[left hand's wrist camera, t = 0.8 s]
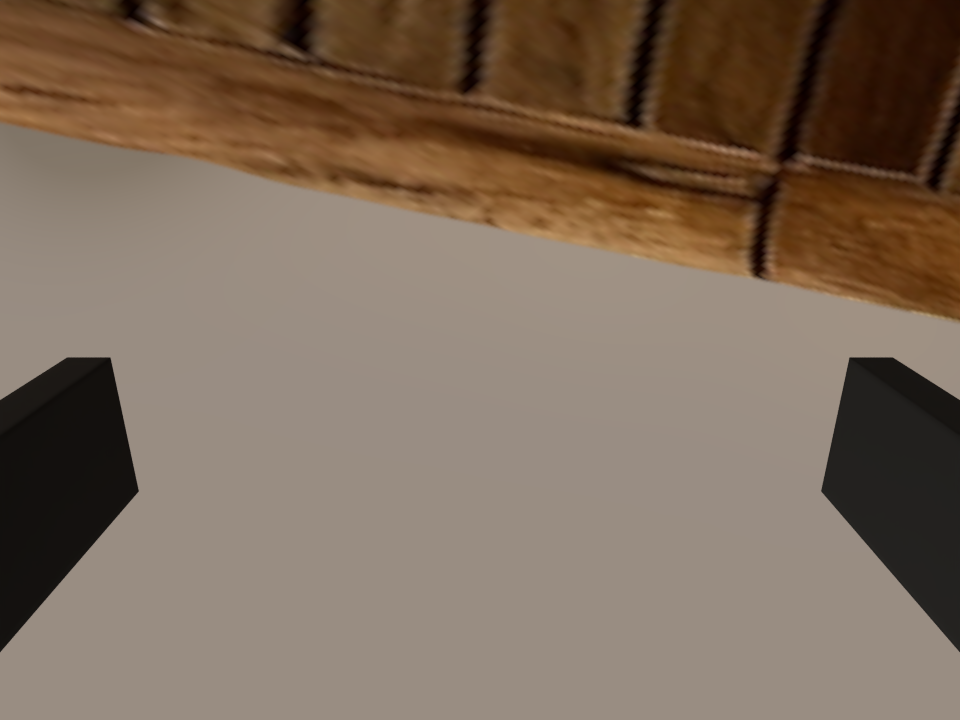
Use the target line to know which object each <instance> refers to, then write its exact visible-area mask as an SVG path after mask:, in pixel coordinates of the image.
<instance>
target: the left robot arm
mask: <svg viewBox="0 0 960 720" xmlns="http://www.w3.org/2000/svg"><path fill="white" fill-rule="evenodd" d="M821 491H822V493H823V494H824V495H825V496H826V497H827V498H828V500H829V501H830V502H831V503H832V504H833V505H834V507H835V508H836V509H837V510H838V511H839V512H840V514H841V515H842V516H843V517H844V518H845V519H846V521H847V522H848V523H849V524H850V525H851V526H852V528H853V529H854V530H855V531H856V532H857V533H858V535H859V536H860V537H861V538H862V539H863V540H864V541H865V543H866V544H867V545H868V546H869V547H870V548H871V550H872V551H873V552H874V553H875V554H876V555H877V557H878V558H879V559H880V560H881V561H882V562H883V563H884V565H885V566H886V567H887V568H888V569H889V570H890V572H891V573H892V574H893V575H894V576H895V577H896V579H897V580H898V581H899V582H900V583H901V584H902V586H903V587H904V588H905V589H906V590H907V591H908V593H909V594H910V595H911V596H912V597H913V598H914V600H915V601H916V602H917V603H918V604H919V605H920V606H921V608H922V609H923V610H924V611H925V612H926V613H927V615H928V616H929V617H930V618H931V619H932V620H933V622H934V623H935V624H936V625H937V626H938V627H939V629H940V630H941V631H942V632H943V633H944V634H945V636H946V637H947V638H948V639H949V640H950V641H951V642H952V644H953V645H954V646H955V647H956V648H957V649H958V651H959V652H960V400H959V399H957V398H956V397H954V396H952V395H951V394H949V393H948V392H946V391H945V390H943V389H941V388H940V387H938V386H937V385H935V384H934V383H932V382H930V381H929V380H927V379H926V378H924V377H923V376H921V375H919V374H918V373H916V372H915V371H913V370H912V369H910V368H908V367H907V366H905V365H904V364H902V363H901V362H899V361H897V360H896V359H894V358H849V363H848V368H847V372H846V377H845V382H844V386H843V391H842V396H841V400H840V405H839V410H838V415H837V419H836V424H835V429H834V434H833V438H832V443H831V448H830V452H829V457H828V462H827V467H826V471H825V476H824V481H823V485H822V490H821ZM138 492H139V490H138V485H137V481H136V476H135V471H134V467H133V462H132V457H131V452H130V448H129V443H128V438H127V434H126V429H125V424H124V419H123V415H122V410H121V405H120V401H119V396H118V391H117V386H116V382H115V377H114V372H113V367H112V363H111V358H66V359H64V360H63V361H61V362H59V363H58V364H56V365H55V366H53V367H52V368H50V369H49V370H47V371H45V372H44V373H42V374H41V375H39V376H37V377H36V378H34V379H33V380H31V381H30V382H28V383H26V384H25V385H23V386H22V387H20V388H19V389H17V390H15V391H14V392H12V393H11V394H9V395H8V396H6V397H4V398H3V399H1V400H0V652H1V651H2V649H3V648H4V647H5V646H6V645H7V644H8V642H9V641H10V640H11V639H12V638H13V637H14V636H15V634H16V633H17V632H18V631H19V630H20V628H21V627H22V626H23V625H24V624H25V623H26V622H27V620H28V619H29V618H30V617H31V616H32V615H33V613H34V612H35V611H36V610H37V609H38V608H39V606H40V605H41V604H42V603H43V602H44V601H45V600H46V598H47V597H48V596H49V595H50V594H51V593H52V591H53V590H54V589H55V588H56V587H57V586H58V584H59V583H60V582H61V581H62V580H63V579H64V577H65V576H66V575H67V574H68V573H69V572H70V570H71V569H72V568H73V567H74V566H75V565H76V563H77V562H78V561H79V560H80V559H81V558H82V556H83V555H84V554H85V553H86V552H87V551H88V550H89V548H90V547H91V546H92V545H93V544H94V543H95V541H96V540H97V539H98V538H99V537H100V536H101V535H102V533H103V532H104V531H105V530H106V529H107V527H108V526H109V525H110V524H111V523H112V522H113V521H114V519H115V518H116V517H117V516H118V515H119V514H120V512H121V511H122V510H123V509H124V508H125V507H126V505H127V504H128V503H129V502H130V501H131V500H132V499H133V497H134V496H135V495H136V494H137V493H138Z"/></svg>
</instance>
